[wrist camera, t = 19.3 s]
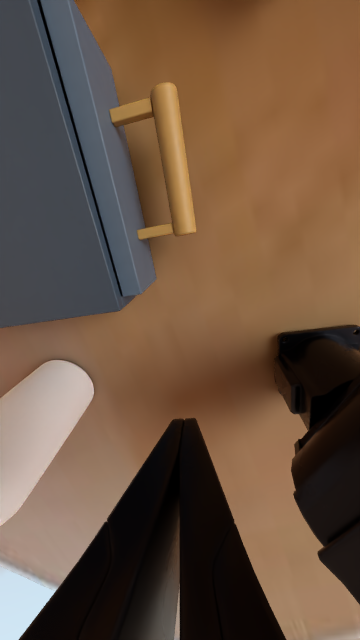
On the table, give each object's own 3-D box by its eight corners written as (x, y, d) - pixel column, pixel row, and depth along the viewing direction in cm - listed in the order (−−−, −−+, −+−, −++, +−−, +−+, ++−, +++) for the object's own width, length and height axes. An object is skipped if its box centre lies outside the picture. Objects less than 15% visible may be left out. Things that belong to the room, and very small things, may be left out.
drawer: (172, 47, 12) (155, -57, 8) (202, 271, 17) (203, 285, 12) (-70, 127, 15) (-184, 83, 10) (13, 302, 19) (-43, 322, 15)
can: (27, 363, 23) (-140, 486, 12) (81, 352, 22) (-48, 478, 10) (55, 409, 25) (-64, 550, 14) (105, 402, 24) (20, 550, 13)
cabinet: (96, 70, 13) (12, -59, 8) (146, 286, 18) (120, 311, 12) (-85, 130, 16) (-260, 67, 10) (3, 309, 20) (-77, 339, 15)
